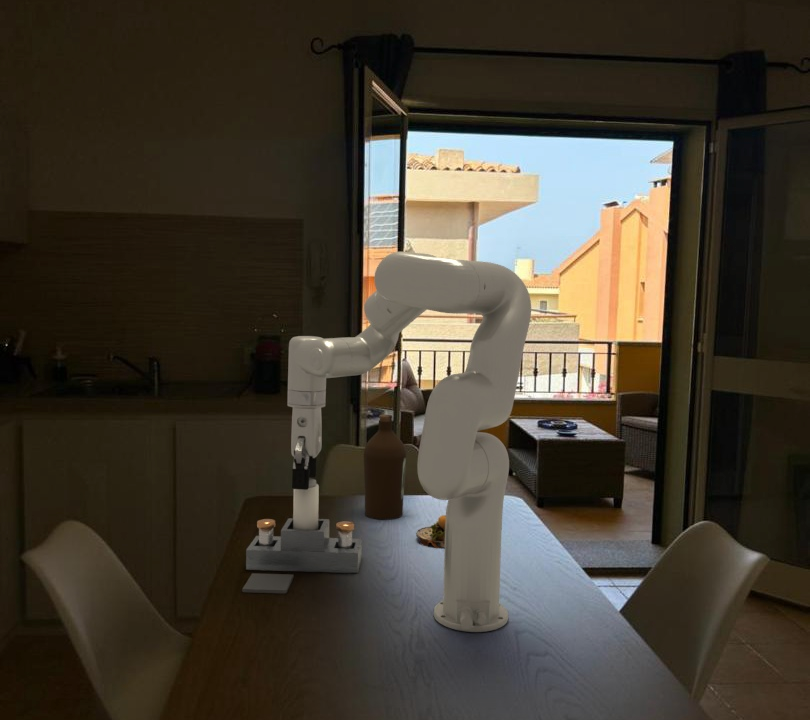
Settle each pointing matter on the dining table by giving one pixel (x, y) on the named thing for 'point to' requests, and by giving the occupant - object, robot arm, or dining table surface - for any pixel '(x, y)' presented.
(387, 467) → the olive oil
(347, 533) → the plunger
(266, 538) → the plunger
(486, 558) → the robot arm
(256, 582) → the mat
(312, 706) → the dining table surface
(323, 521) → the housing
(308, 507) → the cylinder
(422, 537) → the burger
